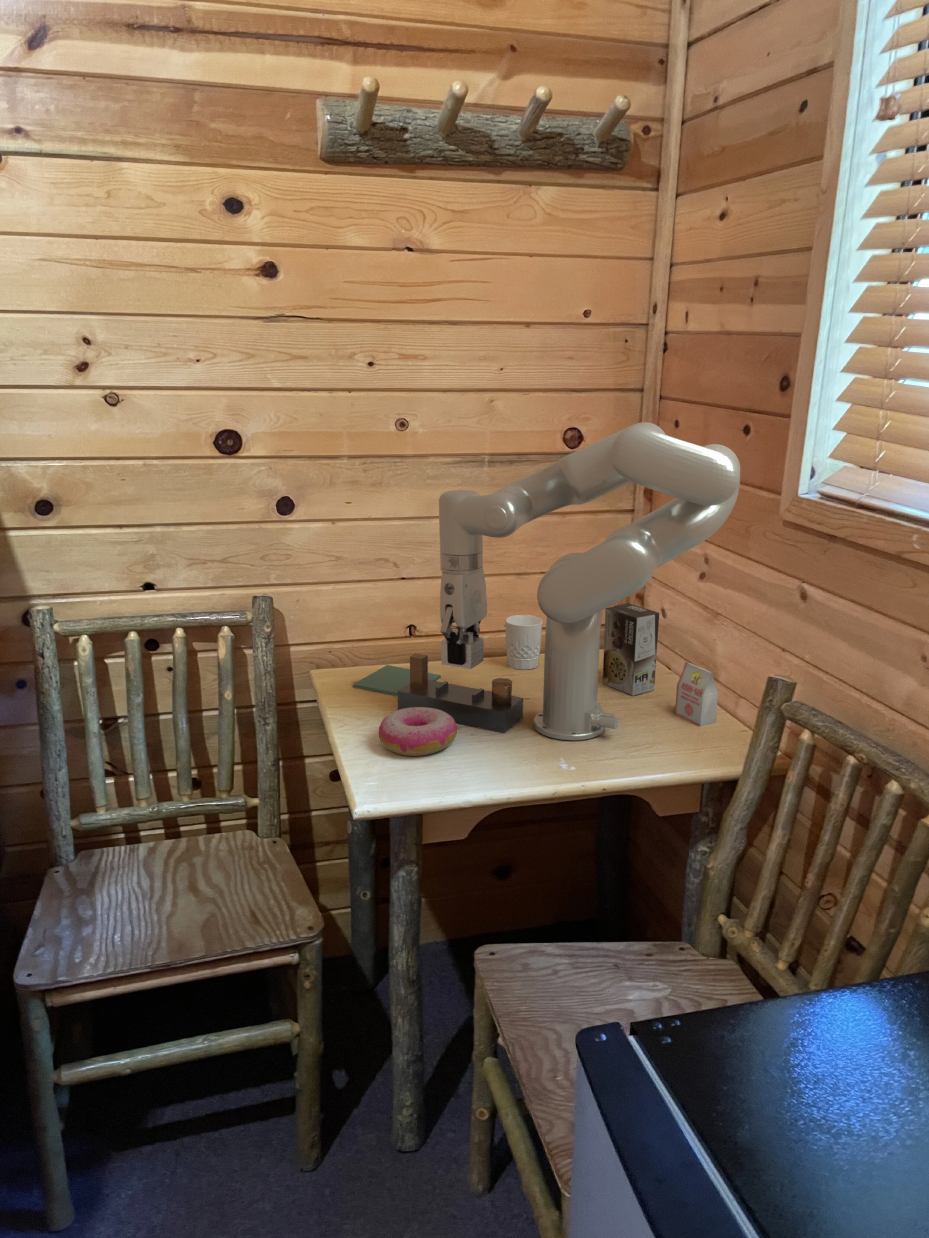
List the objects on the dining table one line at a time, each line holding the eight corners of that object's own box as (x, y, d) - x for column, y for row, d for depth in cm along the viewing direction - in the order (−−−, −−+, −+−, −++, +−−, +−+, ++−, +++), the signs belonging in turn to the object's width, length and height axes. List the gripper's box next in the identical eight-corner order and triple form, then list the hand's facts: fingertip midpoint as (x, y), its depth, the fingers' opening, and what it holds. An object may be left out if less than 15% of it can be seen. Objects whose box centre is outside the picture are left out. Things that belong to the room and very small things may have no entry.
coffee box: (655, 690, 184) (661, 612, 179) (632, 696, 180) (637, 617, 176) (623, 677, 191) (628, 602, 186) (600, 683, 188) (604, 606, 183)
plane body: (397, 710, 173) (397, 660, 170) (419, 697, 179) (418, 648, 177) (504, 733, 163) (505, 680, 160) (522, 717, 170) (524, 666, 167)
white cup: (529, 673, 193) (531, 627, 190) (497, 666, 197) (498, 621, 194) (547, 663, 199) (549, 618, 196) (516, 656, 203) (517, 612, 200)
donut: (446, 725, 167) (446, 699, 165) (465, 756, 154) (466, 728, 153) (372, 732, 163) (372, 706, 162) (386, 764, 151) (385, 736, 150)
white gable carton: (689, 710, 174) (693, 660, 171) (715, 722, 168) (720, 671, 165) (674, 714, 172) (678, 663, 169) (700, 726, 166) (704, 674, 164)
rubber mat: (441, 677, 190) (441, 675, 190) (408, 698, 179) (408, 695, 179) (387, 667, 196) (387, 664, 195) (352, 686, 184) (352, 684, 184)
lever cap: (441, 664, 167) (441, 634, 166) (454, 656, 172) (454, 626, 170) (471, 669, 165) (471, 638, 163) (483, 661, 169) (483, 631, 167)
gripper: (457, 573, 154) (460, 676, 159) (501, 553, 168) (502, 648, 173) (418, 569, 157) (422, 670, 162) (464, 550, 172) (466, 643, 177)
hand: (463, 658), depth 168 cm, fingers closed on lever cap, 5 cm apart
